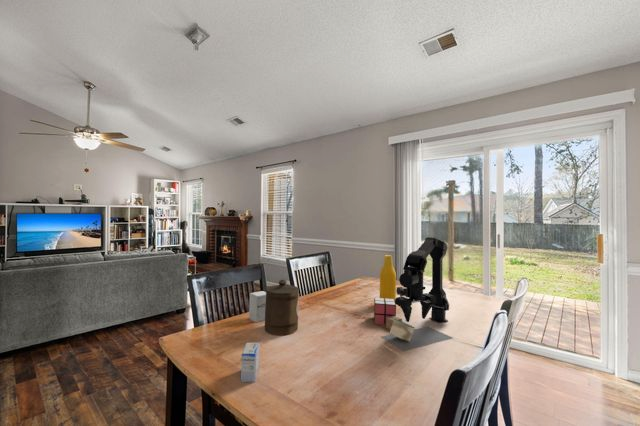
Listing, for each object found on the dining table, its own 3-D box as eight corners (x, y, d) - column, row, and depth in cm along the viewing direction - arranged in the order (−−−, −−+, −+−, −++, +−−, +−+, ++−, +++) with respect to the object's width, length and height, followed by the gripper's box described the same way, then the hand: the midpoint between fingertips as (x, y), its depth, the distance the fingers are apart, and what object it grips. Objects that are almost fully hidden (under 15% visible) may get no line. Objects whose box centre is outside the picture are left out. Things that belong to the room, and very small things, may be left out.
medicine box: (245, 368, 93) (245, 342, 93) (258, 368, 93) (259, 342, 94) (240, 382, 85) (241, 353, 85) (255, 382, 86) (256, 353, 86)
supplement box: (255, 322, 133) (256, 296, 133) (248, 318, 138) (249, 292, 139) (269, 319, 138) (270, 293, 138) (261, 315, 143) (262, 290, 143)
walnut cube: (392, 326, 132) (392, 315, 132) (401, 329, 128) (401, 318, 128) (386, 328, 129) (386, 317, 129) (395, 332, 125) (395, 321, 125)
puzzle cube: (395, 326, 132) (396, 304, 132) (374, 324, 134) (374, 303, 134) (394, 318, 142) (394, 298, 142) (373, 317, 144) (374, 297, 144)
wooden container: (304, 328, 127) (305, 280, 127) (278, 338, 116) (279, 285, 116) (283, 320, 137) (284, 275, 137) (257, 328, 126) (259, 279, 126)
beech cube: (394, 318, 119) (389, 332, 117) (404, 323, 113) (399, 338, 112) (404, 322, 121) (399, 336, 120) (414, 327, 116) (409, 341, 115)
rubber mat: (427, 327, 132) (427, 326, 132) (453, 338, 119) (453, 337, 119) (380, 337, 119) (380, 336, 119) (403, 352, 106) (403, 351, 106)
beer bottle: (383, 302, 169) (383, 254, 170) (398, 305, 164) (398, 255, 164) (376, 305, 162) (377, 255, 162) (392, 309, 156) (392, 257, 157)
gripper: (417, 278, 132) (417, 311, 131) (386, 281, 123) (386, 317, 123) (437, 283, 122) (436, 319, 121) (404, 287, 113) (404, 326, 113)
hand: (415, 320), depth 120 cm, fingers open, 9 cm apart
